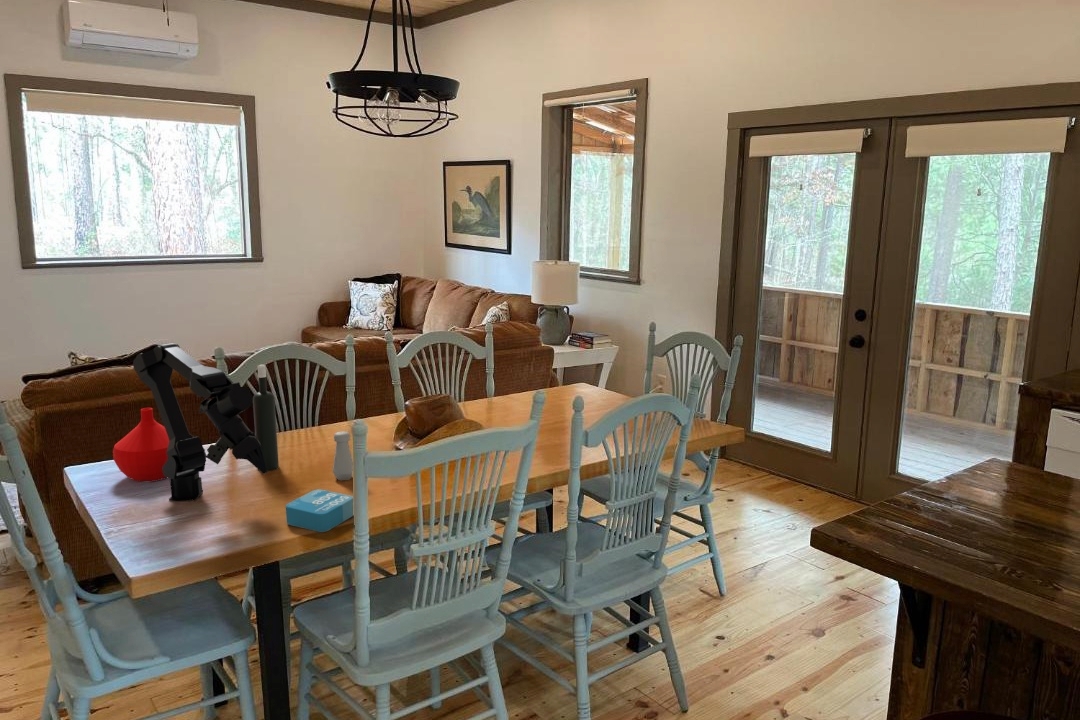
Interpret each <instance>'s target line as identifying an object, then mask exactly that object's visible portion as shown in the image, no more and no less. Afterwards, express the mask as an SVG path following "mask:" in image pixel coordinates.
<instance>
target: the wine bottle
mask: <svg viewBox="0 0 1080 720" xmlns="http://www.w3.org/2000/svg"><path fill="white" fill-rule="evenodd" d="M266 367H267V366H266V364H259V365H257V377H258V388H259V391H258V392H256V393H255V394H253V395H252V397H253V402H252V408H253V409H252V410H253V420H254V421H253V422H254V434H255V435H256V437H257V438H258V439H257V440H258V441H259V442H260V445H261V449H262V453H263V456H264V460H265V464H266V468H267V472H272V471H275V470H278V469H279V468H280V464H279V449H278V433H277V419H276V418H277V417H276V399H275V396H274V394H273V393H272V392H271V391H268V390H267V389H268V388H267V387H268V386H267V368H266ZM277 468H278V469H277ZM258 471H260V470H258ZM260 472H261V471H260Z"/></svg>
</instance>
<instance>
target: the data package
mask: <svg viewBox="0 0 1080 720" xmlns="http://www.w3.org/2000/svg"><path fill="white" fill-rule="evenodd" d="M353 502H354V497H353V496H352V495H349V494H344V493H340V492H334V491H330V490H324V489H314V490H311V491H310V492H307V493H306V494H303V495H302V496H300V497H298V498H296V499H294V500H292V501H290V502H288V503H287V504H286V505H285V515H286V517H285V518H286V524H288V525H289V526H293V527H297V528H300V529H301V528H302V529H305V530H309V531H313V532H317V533H325V532H329V531H330V530H332V529H333V528H335V527H337V526H339V525H340V524H342V523H344V522H345V521H347V520H348V519H350V518H352V517H353V516H354V515H353Z"/></svg>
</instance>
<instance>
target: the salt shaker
mask: <svg viewBox="0 0 1080 720" xmlns="http://www.w3.org/2000/svg"><path fill="white" fill-rule="evenodd" d="M333 439H334V440H333V441H334V442H336V443H335V450H334V452H335V453H334V459H333V467H332V473H333V475H334V476H335V479H336V480H337V479H338V480H337V481H342V480H345V481H348V480H351V479H352V477H353V475H352V471H353V465H354V462H353V458H352V453H351V449H350V444H349V441H350V440H351V435H350V433H349V431H343V430H342V431H338V432H337V431H336V432H335V433H334V434H333Z"/></svg>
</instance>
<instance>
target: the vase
mask: <svg viewBox="0 0 1080 720" xmlns="http://www.w3.org/2000/svg"><path fill="white" fill-rule="evenodd" d="M153 410H154V408H152V407H144V408H141V409H140V415H141V416H140V417H141V418H140V421H139V423H138V424H137V426H135V427H134V428H133V429H132V430H131V431H129V432H128V433H127V434H126V435H125V436H123V437H122V438H121V439H120V440H119V441H118V442H117V443H115V444H114V447H113V448H112V457H113V461H114V463H115V464H116V466H117V468H118V470H119V471H120V472H121V473H122V474H124V475H125V476H126V477H127V478H129V479H131V480H132V481H135V482H139V481H151V482H157V481H161V479H162V480H164V478H165V479H168V478H167V477H165V476H164V474H163V471H162V468H163V466H164V464H165V463H166V461H167V459H168V457H167V453H166V452H167V448H168V444H169V438H168V435H167V432H166V430H165V427H164V425H162V423H161V424H160V423H159V422H157V420H155V418H154V411H153ZM156 480H157V481H156Z"/></svg>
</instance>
